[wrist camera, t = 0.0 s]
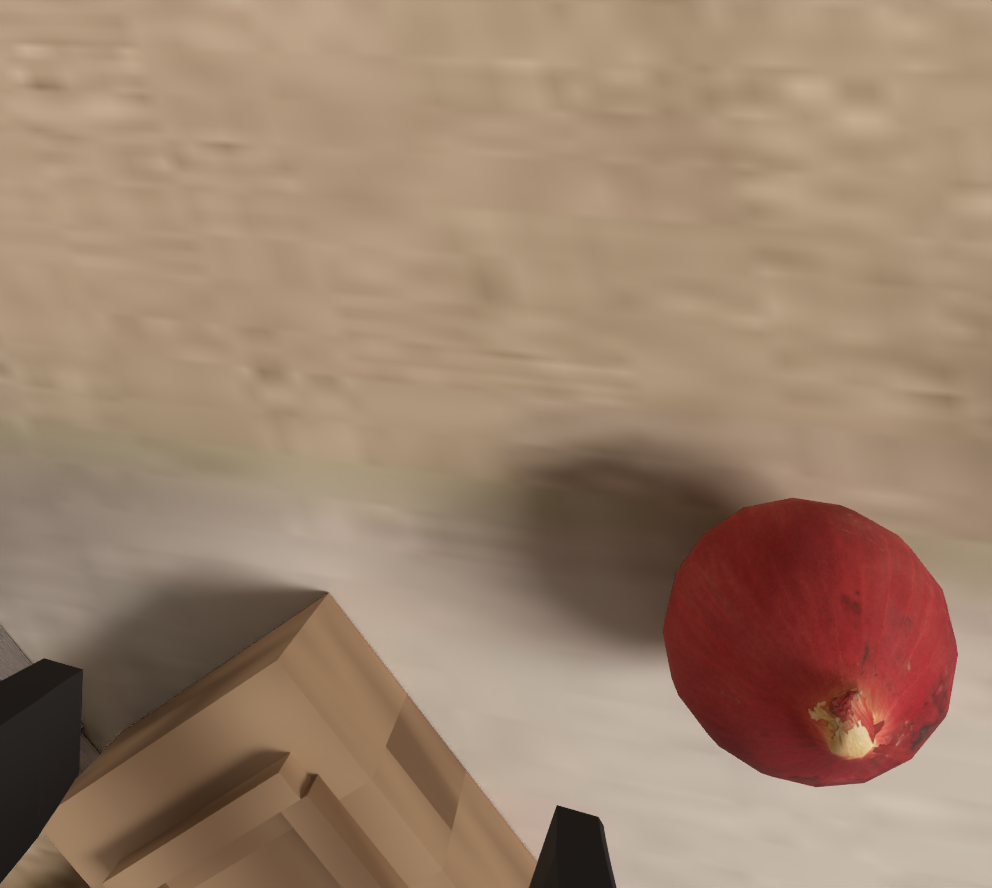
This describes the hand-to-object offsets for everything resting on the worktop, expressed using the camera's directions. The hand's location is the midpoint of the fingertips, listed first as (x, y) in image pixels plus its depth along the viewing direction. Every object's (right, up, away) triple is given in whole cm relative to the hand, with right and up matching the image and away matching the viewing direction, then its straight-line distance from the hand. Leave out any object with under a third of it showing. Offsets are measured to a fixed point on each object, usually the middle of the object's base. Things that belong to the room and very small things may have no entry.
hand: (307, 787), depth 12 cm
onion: (+10, +2, +10) cm, 14 cm away
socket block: (-2, -5, +12) cm, 14 cm away
